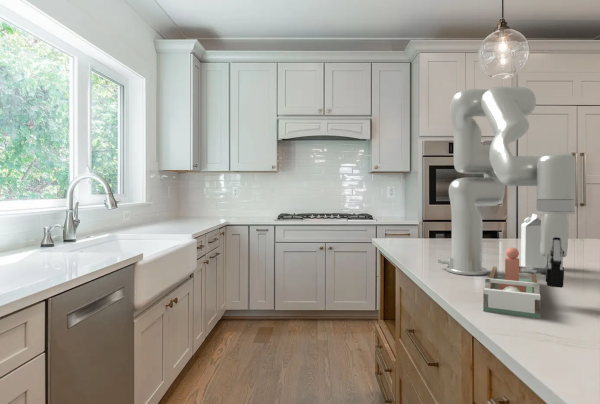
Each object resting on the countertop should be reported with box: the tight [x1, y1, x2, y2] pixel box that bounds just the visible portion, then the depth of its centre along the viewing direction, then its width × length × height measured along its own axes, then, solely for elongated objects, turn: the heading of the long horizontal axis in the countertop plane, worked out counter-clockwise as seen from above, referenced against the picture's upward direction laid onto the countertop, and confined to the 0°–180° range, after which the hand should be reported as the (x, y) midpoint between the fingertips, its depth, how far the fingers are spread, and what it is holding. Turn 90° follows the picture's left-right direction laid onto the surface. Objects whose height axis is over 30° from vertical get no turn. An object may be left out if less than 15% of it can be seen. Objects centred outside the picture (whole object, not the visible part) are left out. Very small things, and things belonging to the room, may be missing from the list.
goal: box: [482, 277, 541, 315], centre depth 88 cm, size 11×6×5 cm, turn 60°
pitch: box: [482, 266, 541, 320], centre depth 101 cm, size 11×36×4 cm, turn 150°
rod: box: [498, 246, 565, 293], centre depth 94 cm, size 14×3×12 cm, turn 60°
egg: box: [503, 286, 520, 292], centre depth 90 cm, size 4×4×4 cm
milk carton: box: [520, 213, 547, 268], centre depth 136 cm, size 7×7×19 cm
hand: (554, 284), depth 91 cm, fingers closed on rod, 3 cm apart
